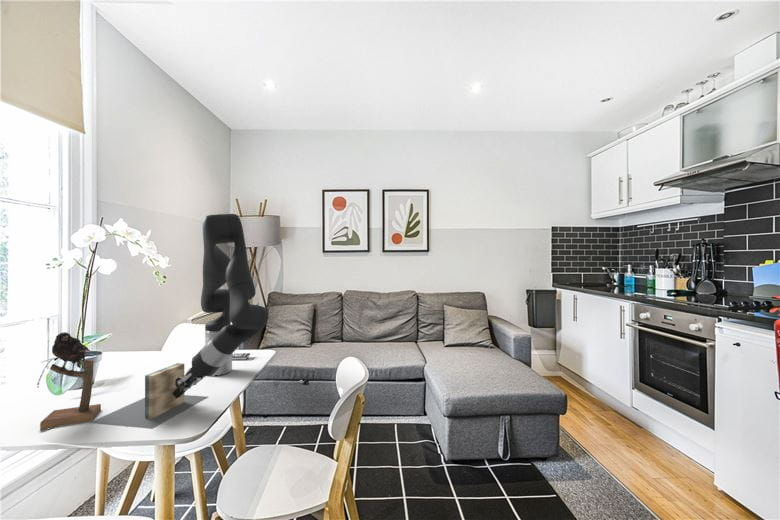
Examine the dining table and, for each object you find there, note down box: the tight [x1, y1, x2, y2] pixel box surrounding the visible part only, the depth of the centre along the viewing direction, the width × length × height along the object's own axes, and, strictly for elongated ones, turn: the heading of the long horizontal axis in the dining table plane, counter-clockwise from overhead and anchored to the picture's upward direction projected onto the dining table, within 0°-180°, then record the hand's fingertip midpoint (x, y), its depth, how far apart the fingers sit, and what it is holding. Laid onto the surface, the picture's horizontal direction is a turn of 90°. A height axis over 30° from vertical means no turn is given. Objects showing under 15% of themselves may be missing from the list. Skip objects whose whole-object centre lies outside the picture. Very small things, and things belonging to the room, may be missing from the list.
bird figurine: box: [39, 332, 102, 431], centre depth 101 cm, size 11×14×25 cm
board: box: [144, 362, 185, 419], centre depth 104 cm, size 12×2×12 cm, turn 170°
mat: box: [89, 394, 209, 429], centre depth 105 cm, size 22×20×1 cm
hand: (176, 395), depth 104 cm, fingers closed
